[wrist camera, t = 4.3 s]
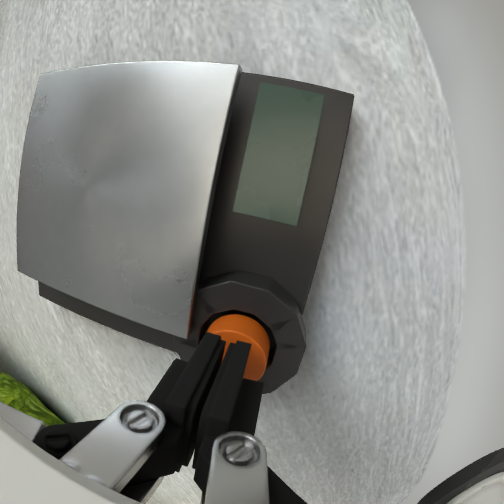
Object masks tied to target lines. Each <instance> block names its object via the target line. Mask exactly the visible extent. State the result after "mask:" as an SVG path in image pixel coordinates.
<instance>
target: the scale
mask: <svg viewBox="0 0 504 504" xmlns="http://www.w3.org/2000/svg"><path fill="white" fill-rule="evenodd" d="M261 82H262V83H268V84H274V85H280V86H286V87H291V88H296V89H301V90H306V91H310V92H315V93H319V94H323V95H325V99H324V104H323V110H322V115H321V120H320V125H319V129H318V134H317V139H316V144H315V149H314V153H313V158H312V163H311V167H310V172H309V176H308V181H307V185H306V190H305V194H304V199H303V203H302V207H301V212H300V216H299V220H298V224H297V227H296V226H292V225H288V224H283V223H279V222H275V221H271V220H266V219H262V218H258V217H253V216H249V215H244V214H240V213H235V212H232V210H233V205H234V200H235V196H236V191H237V186H238V181H239V176H240V172H241V167H242V162H243V158H244V153H245V148H246V144H247V139H248V135H249V130H250V126H251V121H252V117H253V112H254V108H255V104H256V99H257V95H258V91H259V86H260V83H261ZM353 101H354V95H353V94H350V93H346V92H342V91H339V90H335V89H331V88H327V87H323V86H318V85H314V84H309V83H305V82H300V81H295V80H289V79H284V78H278V77H272V76H266V75H259V74H252V73H244V72H242V74H241V78H240V82H239V86H238V90H237V94H236V98H235V103H234V107H233V111H232V115H231V120H230V124H229V128H228V133H227V137H226V142H225V147H224V151H223V156H222V161H221V165H220V170H219V175H218V180H217V185H216V190H215V195H214V200H213V205H212V211H211V216H210V221H209V227H208V232H207V238H206V244H205V249H204V255H203V261H202V267H201V273H200V279H199V286H198V292H197V298H196V305H195V312H194V319H193V326H192V333H191V334H190V336H189V337H188V339H185V338H182V337H178V336H175V335H172V334H169V333H166V332H163V331H160V330H157V329H154V328H151V327H148V326H146V325H143V324H140V323H137V322H134V321H132V320H129V319H126V318H124V317H121V316H118V315H116V314H113V313H111V312H108V311H106V310H103V309H101V308H98V307H96V306H93V305H91V304H88V303H86V302H84V301H81V300H79V299H77V298H74V297H72V296H70V295H67V294H65V293H63V292H61V291H59V290H56V289H54V288H52V287H50V286H48V285H46V284H44V283H41V282H39V281H38V283H39V295H40V296H42V297H44V298H46V299H48V300H50V301H52V302H54V303H56V304H58V305H60V306H62V307H64V308H66V309H69V310H71V311H73V312H75V313H77V314H79V315H82V316H84V317H86V318H88V319H91V320H93V321H95V322H98V323H100V324H102V325H105V326H107V327H110V328H112V329H114V330H117V331H119V332H122V333H124V334H127V335H130V336H132V337H135V338H138V339H140V340H143V341H146V342H148V343H151V344H154V345H157V346H160V347H162V348H165V349H168V350H171V351H174V352H177V353H178V354H179V356H180V358H181V360H183V361H186V362H189V360H190V359H191V357H192V355H193V354H194V352H195V350H196V349H197V347H198V345H199V343H200V342H201V340H202V338H203V337H204V335H205V333H206V332H207V330H208V329H209V327H210V325H211V324H212V323H213V322H214V321H215V320H216V319H218V318H220V317H222V316H225V315H230V314H239V315H244V316H247V317H250V318H252V319H254V320H255V321H257V322H258V323H259V324H260V325H261V326H262V327H263V328H264V329H265V331H266V332H267V335H268V337H269V341H270V348H269V354H268V360H267V365H266V370H265V372H264V374H263V376H262V377H261V378H260V379H259V380H258V382H263V383H264V385H263V391H262V394H266V393H271V392H272V391H274V390H276V389H277V388H278V387H280V386H281V385H282V384H284V383H285V382H287V381H288V380H289V379H291V378H292V377H293V376H294V375H295V374H297V371H298V369H299V366H300V363H301V360H302V358H303V355H304V352H305V349H306V333H305V326H304V323H303V319H302V314H303V311H304V308H305V304H306V301H307V298H308V294H309V291H310V287H311V284H312V280H313V277H314V273H315V270H316V266H317V262H318V259H319V255H320V251H321V247H322V244H323V240H324V236H325V232H326V228H327V224H328V220H329V216H330V212H331V208H332V203H333V199H334V195H335V190H336V186H337V182H338V177H339V173H340V168H341V163H342V159H343V154H344V149H345V144H346V139H347V134H348V128H349V123H350V118H351V112H352V106H353Z"/></svg>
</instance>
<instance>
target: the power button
mask: <svg viewBox="0 0 504 504" xmlns="http://www.w3.org/2000/svg"><path fill="white" fill-rule="evenodd" d="M207 332H209V333H213V334H216V335H220V336H221V340H224V341H226V345H225V350H224V355H223V359H224V356H225V354H226V351H227V349H228V347H229V344H230V342H231V343H235V344H236V342H237V340H239V341H243V342H247V343H251V344H252V345H251V349H250V353H249V357H248V361H247V364H246V368H245V372H244V376H243V378H246V379H250V380H254V381H258V380H259V379H260V378H261V377H262V376H263V374H264V372H265V370H266V365H267V360H268V354H269V348H270V341H269V337H268V335H267V332H266V331H265V329H264V328H263V327H262V326H261V325H260V324H259V323H258V322H257V321H255V320H254V319H252V318H250V317H247V316H244V315H239V314H230V315H225V316H222V317H220V318H218V319H216V320H215V321H214V322H213V323H212V324H211V325H210V327H209V329H208V330H207ZM222 361H223V360H222Z"/></svg>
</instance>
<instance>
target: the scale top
mask: <svg viewBox="0 0 504 504" xmlns="http://www.w3.org/2000/svg"><path fill="white" fill-rule="evenodd" d="M241 74H242V68H241V66H240V65H238V64H228V63H216V62H199V61H137V62H120V63H108V64H99V65H90V66H83V67H76V68H69V69H63V70H58V71H52V72H47V73H43V74H41V75H40V78H39V81H38V84H37V88H36V92H35V95H34V99H33V103H32V107H31V112H30V116H29V121H28V126H27V131H26V136H25V142H24V148H23V154H22V162H21V170H20V179H19V190H18V205H17V264H18V271H19V272H21V273H23V274H25V275H27V276H29V277H31V278H33V279H35V280H37V281H39V282H41V283H44V284H46V285H48V286H50V287H52V288H54V289H56V290H59V291H61V292H63V293H65V294H67V295H70V296H72V297H74V298H77V299H79V300H81V301H84V302H86V303H88V304H91V305H93V306H96V307H98V308H101V309H103V310H106V311H108V312H111V313H113V314H116V315H118V316H121V317H124V318H126V319H129V320H132V321H134V322H137V323H140V324H143V325H146V326H148V327H151V328H154V329H157V330H160V331H163V332H166V333H169V334H172V335H175V336H178V337H182V338H185V339H188V337H189V336H190V334H191V333H192V326H193V319H194V312H195V305H196V298H197V292H198V286H199V279H200V273H201V267H202V261H203V255H204V249H205V244H206V238H207V232H208V227H209V221H210V216H211V211H212V205H213V200H214V195H215V190H216V185H217V180H218V175H219V170H220V165H221V161H222V156H223V151H224V147H225V142H226V137H227V133H228V128H229V124H230V120H231V115H232V111H233V107H234V103H235V98H236V94H237V90H238V86H239V82H240V78H241ZM324 99H325V95H323V94H319V93H315V92H310V91H306V90H301V89H296V88H291V87H286V86H280V85H274V84H268V83H262V82H261V83H260V86H259V91H258V95H257V99H256V104H255V108H254V112H253V117H252V121H251V126H250V130H249V135H248V139H247V144H246V148H245V153H244V158H243V162H242V167H241V172H240V176H239V181H238V186H237V191H236V196H235V200H234V205H233V210H232V212H235V213H240V214H244V215H249V216H253V217H258V218H262V219H266V220H271V221H275V222H279V223H283V224H288V225H292V226H296V227H297V224H298V220H299V216H300V212H301V207H302V203H303V199H304V194H305V190H306V185H307V181H308V176H309V172H310V167H311V163H312V158H313V153H314V149H315V144H316V139H317V134H318V129H319V125H320V120H321V115H322V110H323V104H324Z"/></svg>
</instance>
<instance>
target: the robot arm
mask: <svg viewBox="0 0 504 504" xmlns="http://www.w3.org/2000/svg"><path fill="white" fill-rule="evenodd" d="M225 345H226V341H224V340H221V336H220V335H216V334H213V333H209V332H206V333H205V335H204V337H203V338H202V340H201V342H200V343H199V345H198V347H197V349H196V350H195V352H194V354H193V355H192V357H191V359H190V360H189V362H186V361H183V360H180V359H175V360H174V361H173V363H172V364H171V366H170V367H169V369H168V370H167V372H166V373H165V375H164V376H163V378H162V379H161V381H160V382H159V384H158V385H157V387H156V388H155V390H154V391H153V393H152V394H151V396H150V397H149V399H148V400H147V402H146V401H139V400H136V401H129V402H125V403H123V404H122V405H120V406H119V407H118V408H117V409H115V410H114V411H113V412H112V413H111V414H110V415H109V416H108V417H107V418H106V419H102V420H95V421H86V422H77V423H67V424H54V425H50V426H46V425H44V422H43V421H41V420H38V419H36V418H34V417H31V416H29V415H27V414H25V413H23V412H20V411H18V410H16V409H14V408H12V407H10V406H8V405H6V404H4V403H2V402H0V504H146V502H147V501H148V500H149V498H150V497H151V496H152V494H153V493H154V492H155V490H156V489H157V487H158V486H159V485H160V483H161V482H162V480H163V478H164V476H166V475H170V474H173V473H174V472H175V471H176V472H179V471H180V468H181V466H182V465H184V466H188V464H189V462H190V460H191V457H192V455H193V452H194V450H195V452H194V459H193V465H192V468H193V469H195V475H194V481H195V482H196V484H197V485H198V486H199V488H200V489H201V490H202V495H201V503H200V504H307V503H306V502H305V501H304V500H303V499H301V498H300V497H299V496H298V495H297V494H296V493H295V492H294V491H293V490H292V489H291V488H290V487H289V486H287V485H286V484H285V483H284V482H283V481H282V480H281V479H280V478H279V477H278V476H277V475H276V474H275V473H274V472H273V471H272V470H271V469H270V468H269V467H268V466H267V453H266V449H265V446H264V445H263V443H262V442H261V441H260V440H259V439H258V438H256V437H255V436H254V434H255V428H256V423H257V418H258V413H259V407H260V402H261V396H262V391H263V385H264V383H263V382H258V381H254V380H250V379H246V378H243V376H244V372H245V368H246V364H247V361H248V357H249V353H250V349H251V345H252V344H251V343H247V342H243V341H239V340H237V342H236V344H235V343H231V342H230V344H229V347H228V349H227V351H226V354H225V356H224V359H223V355H224V350H225ZM222 360H223V361H222ZM446 504H504V472H500V473H497V474H494V475H492V476H490V477H488V478H485V479H484V480H482V481H480V482H478V483H476V484H475V485H473V486H471V487H469V488H468V489H466V490H465V491H463V492H462V493H460V494H459V495H457V496H456V497H454V498H453V499H451V500H450V501H449V502H447V503H446Z"/></svg>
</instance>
